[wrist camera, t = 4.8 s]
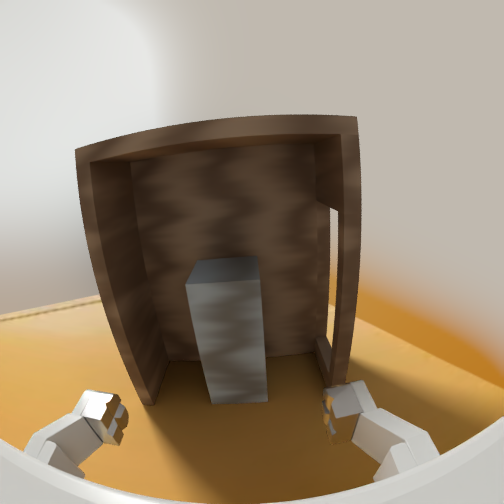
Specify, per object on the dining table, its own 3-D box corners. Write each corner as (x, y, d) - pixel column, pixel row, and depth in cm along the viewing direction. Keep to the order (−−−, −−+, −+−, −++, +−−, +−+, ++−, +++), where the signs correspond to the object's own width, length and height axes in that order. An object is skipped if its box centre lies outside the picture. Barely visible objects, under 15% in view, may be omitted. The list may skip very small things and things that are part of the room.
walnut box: (142, 404, 21) (74, 149, 14) (161, 353, 29) (123, 152, 22) (342, 395, 21) (356, 116, 14) (322, 344, 29) (322, 131, 22)
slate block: (212, 404, 21) (185, 284, 18) (216, 369, 26) (197, 260, 23) (267, 401, 21) (259, 279, 18) (264, 366, 26) (256, 255, 23)
